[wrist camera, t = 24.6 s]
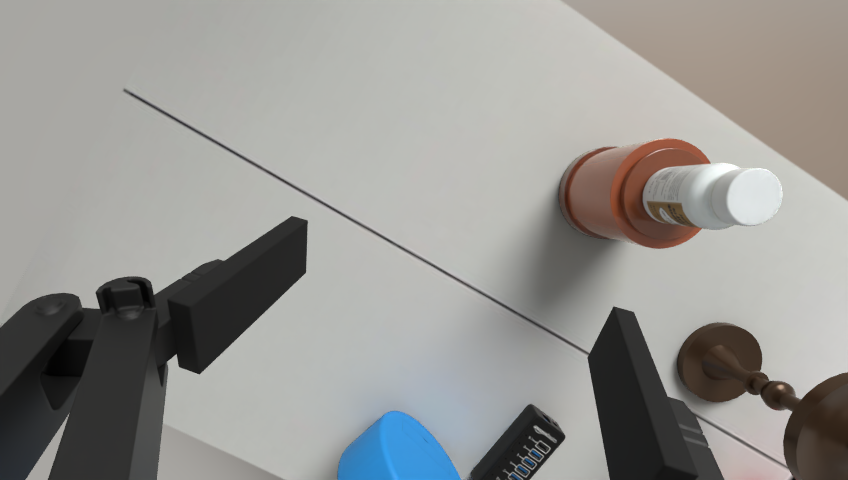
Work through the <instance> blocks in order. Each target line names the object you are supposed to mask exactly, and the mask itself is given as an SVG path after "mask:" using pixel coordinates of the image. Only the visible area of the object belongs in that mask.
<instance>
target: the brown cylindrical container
mask: <svg viewBox="0 0 848 480" xmlns="http://www.w3.org/2000/svg"><path fill="white" fill-rule="evenodd" d="M702 164H711V163H710V161H709V160H708V158H707V157H706V156H705V155H704V154H703V153H702V152H701V151H700V150H699V149H698V148H696V147H695V146H693V145H692V144H690V143H688V142H685V141H682V140H678V139H669V138H667V139H658V140H653V141H648V142H643V143H638V144H633V145H628V146H623V147H603V148H598V149H594V150H591V151H588V152H586V153H584V154H582V155H581V156H579V157H578V158H577V159H575V160H574V161H573V162H572V163H571V164H570V165H569V167H568V168H567V170H566V171H565V173H564V175H563V177H562V180H561V183H560V187H559V203H560V207H561V211H562V213H563V215H564V217H565V219H566V220H567V222H568V223H569V224H570V225H571V226H572V227H573V228H574V229H576V230H577V231H579V232H581V233H582V234H585V235H588V236H591V237H595V238H600V239H616V240H620V241H624V242H628V243H632V244H636V245H640V246H644V247H649V248H658V249H660V248H669V247H674V246H676V245H679V244H682V243H684V242H686V241H687V240H689V239H691V238H692V237H693V236H695V235H696V234H697V233H698V232H699V231H700V230H701V229H702V228H696V227H689V226H682V225H675V224H667V223H662V222H659V221H656V220H655V219H653V218H652V217H651V216H650V215H649V214H648V213H647V211H646V210H645V207H644V204H643V191H644V187H645V185H646V183H647V181H648V180H649V178H650V177H651V176H652V175H653V174H655V173H656V172H658V171H659V170H661V169H664V168H668V167H676V166H689V165H702Z"/></svg>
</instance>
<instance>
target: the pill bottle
mask: <svg viewBox="0 0 848 480" xmlns="http://www.w3.org/2000/svg"><path fill="white" fill-rule="evenodd" d="M781 201H782V187H781V183H780V181H779V180H778V178H777V177H776V176H775V175H774V174H773V173H771V172H770V171H768V170H766V169H762V168H739V167H737V166H735V165H732V164H727V163H714V164H702V165H689V166H676V167H668V168H664V169H661V170H659V171H658V172H656V173H655V174H653V175H652V176H651V177H650V178H649V180H648V181H647V183H646V185H645V187H644V191H643V204H644V207H645V210H646V211H647V213H648V214H649V215H650V216H651V217H652V218H653V219H655V220H656V221H659V222H662V223H667V224H675V225H682V226H689V227H696V228H703V229H712V230H720V229H725V228H728V227H731V226H733V225H742V226H755V225H759V224H762V223H764V222H766V221H768V220H769V219H770V218H772V217H773V216H774V214H775V213H776V212H777V211H778V209H779V207H780V205H781Z"/></svg>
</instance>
